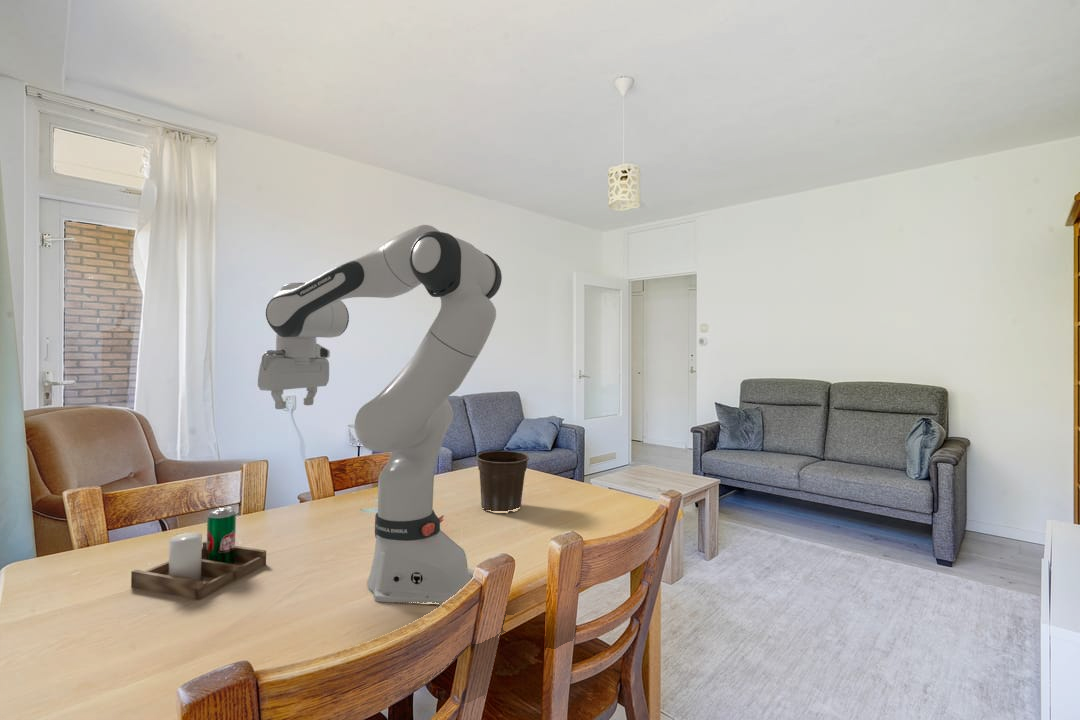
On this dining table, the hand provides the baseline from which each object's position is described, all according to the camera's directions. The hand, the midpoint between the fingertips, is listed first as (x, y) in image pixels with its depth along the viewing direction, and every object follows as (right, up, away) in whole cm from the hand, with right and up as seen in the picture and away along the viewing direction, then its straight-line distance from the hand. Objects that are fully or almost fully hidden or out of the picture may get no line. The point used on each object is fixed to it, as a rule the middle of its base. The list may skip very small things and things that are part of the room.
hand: (295, 407), depth 121 cm
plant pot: (+48, -34, +32) cm, 67 cm away
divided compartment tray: (-8, -33, -21) cm, 40 cm away
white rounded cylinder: (-9, -32, -24) cm, 41 cm away
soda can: (-7, -32, -17) cm, 37 cm away
